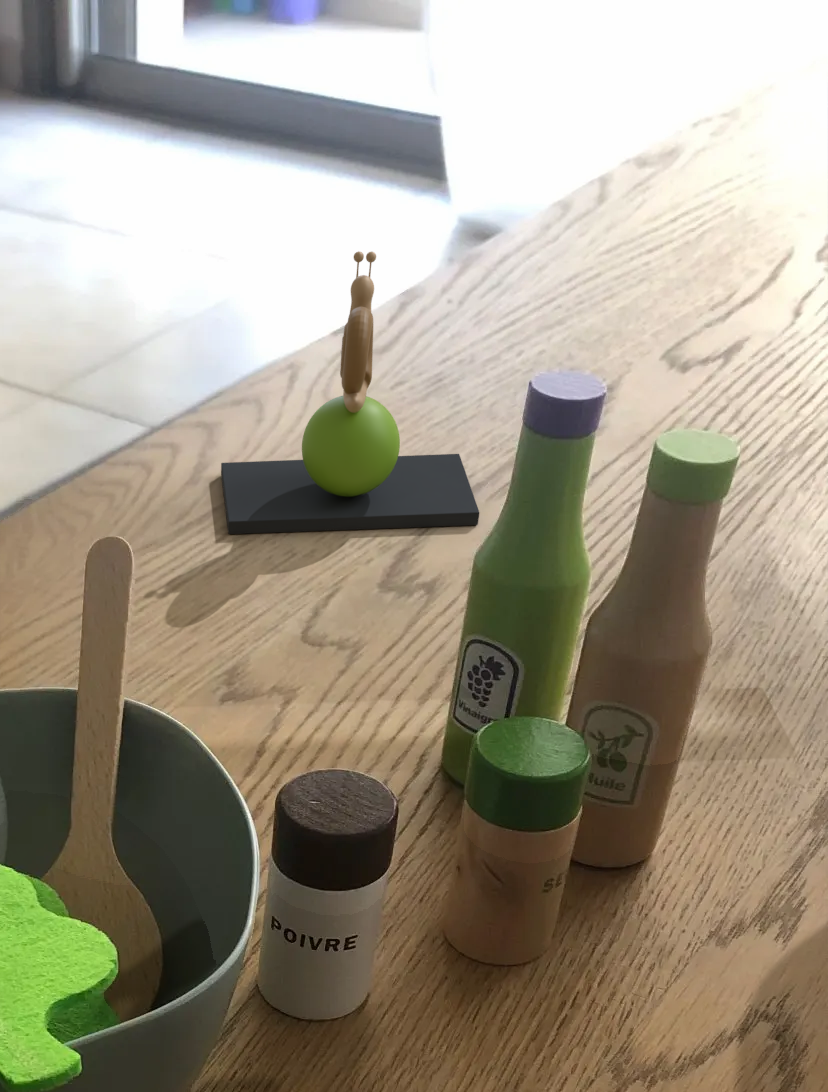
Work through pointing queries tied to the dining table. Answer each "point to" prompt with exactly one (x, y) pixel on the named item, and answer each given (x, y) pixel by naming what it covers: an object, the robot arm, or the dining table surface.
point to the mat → (301, 505)
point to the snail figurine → (353, 412)
